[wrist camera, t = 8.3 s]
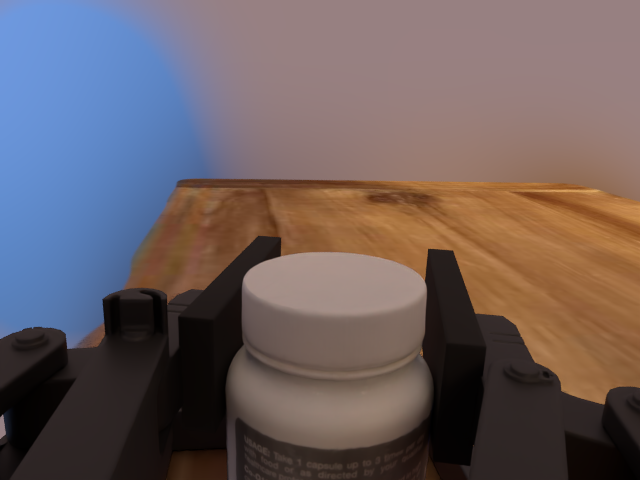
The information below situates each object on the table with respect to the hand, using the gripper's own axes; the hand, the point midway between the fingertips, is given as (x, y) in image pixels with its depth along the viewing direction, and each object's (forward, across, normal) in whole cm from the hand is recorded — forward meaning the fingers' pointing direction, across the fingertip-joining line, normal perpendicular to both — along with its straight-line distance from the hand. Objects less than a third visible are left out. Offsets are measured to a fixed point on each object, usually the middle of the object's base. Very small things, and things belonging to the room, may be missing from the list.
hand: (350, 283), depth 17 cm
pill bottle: (-5, 0, -6) cm, 8 cm away
